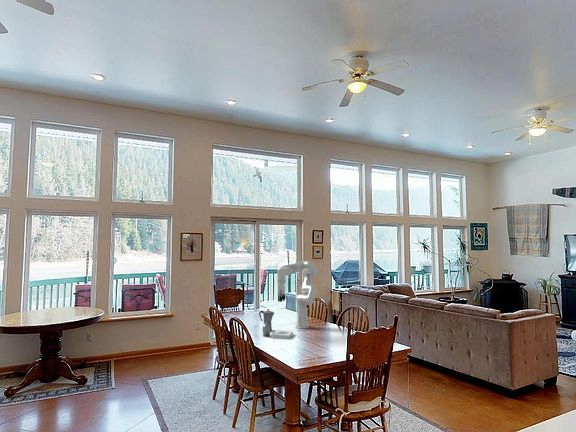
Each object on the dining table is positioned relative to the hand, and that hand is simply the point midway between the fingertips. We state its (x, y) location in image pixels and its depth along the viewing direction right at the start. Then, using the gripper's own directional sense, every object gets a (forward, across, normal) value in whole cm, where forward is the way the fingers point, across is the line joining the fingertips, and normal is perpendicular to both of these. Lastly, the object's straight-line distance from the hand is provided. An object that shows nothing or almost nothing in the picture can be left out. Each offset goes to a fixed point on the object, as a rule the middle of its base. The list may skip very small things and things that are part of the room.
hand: (282, 300), depth 345 cm
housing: (+29, +10, +2) cm, 31 cm away
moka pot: (+30, -8, -18) cm, 35 cm away
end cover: (+29, +12, -12) cm, 34 cm away
